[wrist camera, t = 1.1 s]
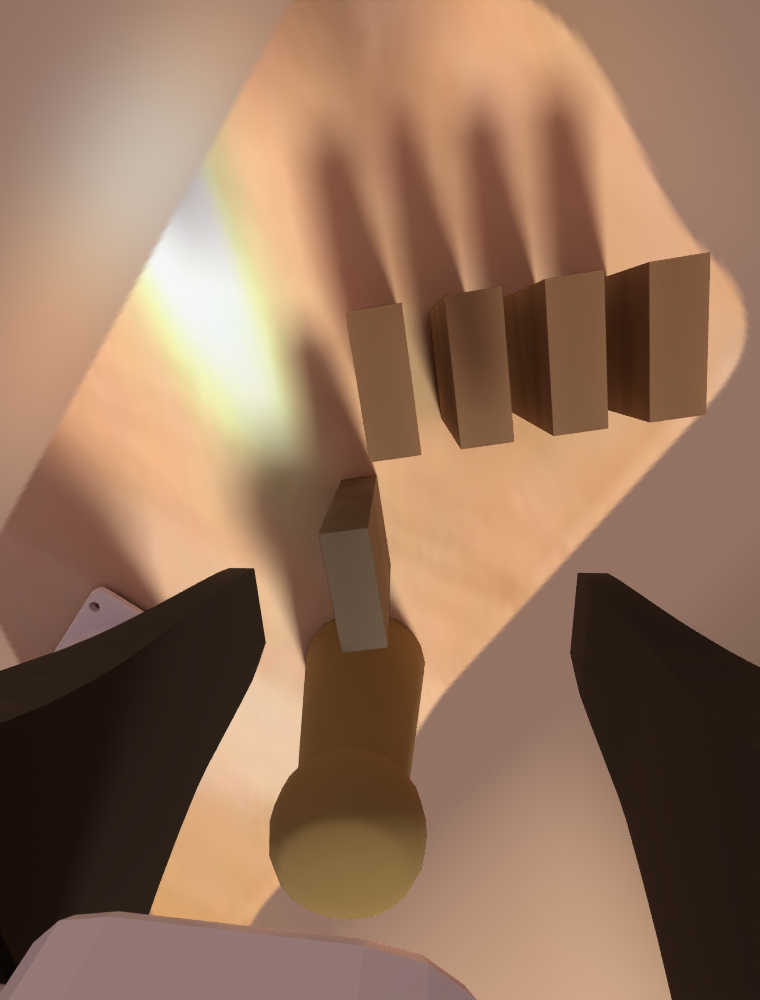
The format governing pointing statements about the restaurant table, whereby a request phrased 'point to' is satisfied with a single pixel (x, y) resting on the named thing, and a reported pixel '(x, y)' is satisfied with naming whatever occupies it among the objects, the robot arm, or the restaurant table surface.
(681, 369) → the tile
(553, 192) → the restaurant table surface
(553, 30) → the restaurant table surface
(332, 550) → the tile
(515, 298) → the tile
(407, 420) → the tile
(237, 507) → the restaurant table surface
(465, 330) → the tile
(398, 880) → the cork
